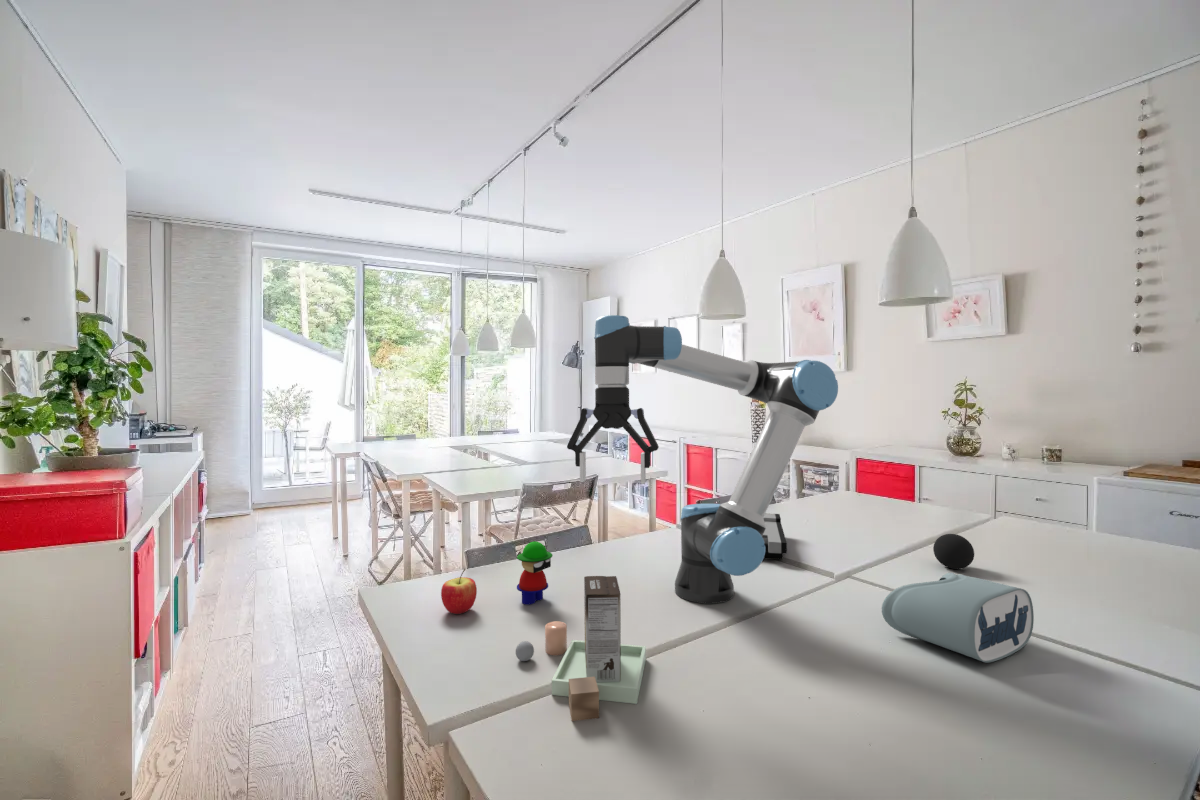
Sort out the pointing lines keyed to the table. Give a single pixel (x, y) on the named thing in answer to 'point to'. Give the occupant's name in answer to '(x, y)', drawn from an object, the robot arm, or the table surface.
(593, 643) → the coffee box
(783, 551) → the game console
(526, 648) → the grey ball
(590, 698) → the walnut cube
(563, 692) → the tray
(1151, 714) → the table surface
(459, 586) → the apple
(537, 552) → the toy
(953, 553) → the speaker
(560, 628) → the peach rounded cylinder
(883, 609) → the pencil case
